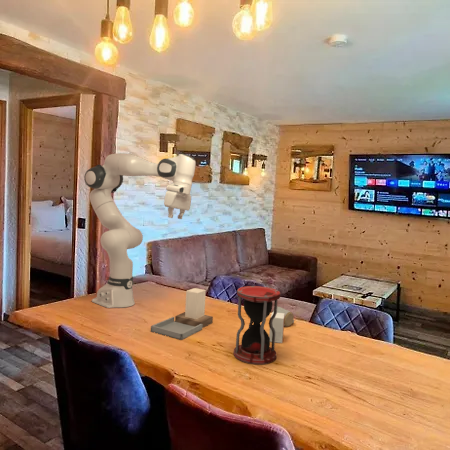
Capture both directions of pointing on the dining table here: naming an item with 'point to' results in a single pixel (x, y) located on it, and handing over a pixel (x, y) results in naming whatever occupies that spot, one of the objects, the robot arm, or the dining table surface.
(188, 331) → the gray tray
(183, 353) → the dining table surface
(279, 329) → the small box
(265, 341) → the hourglass
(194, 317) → the cream block
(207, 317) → the brown flat block
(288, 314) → the ceramic mug
